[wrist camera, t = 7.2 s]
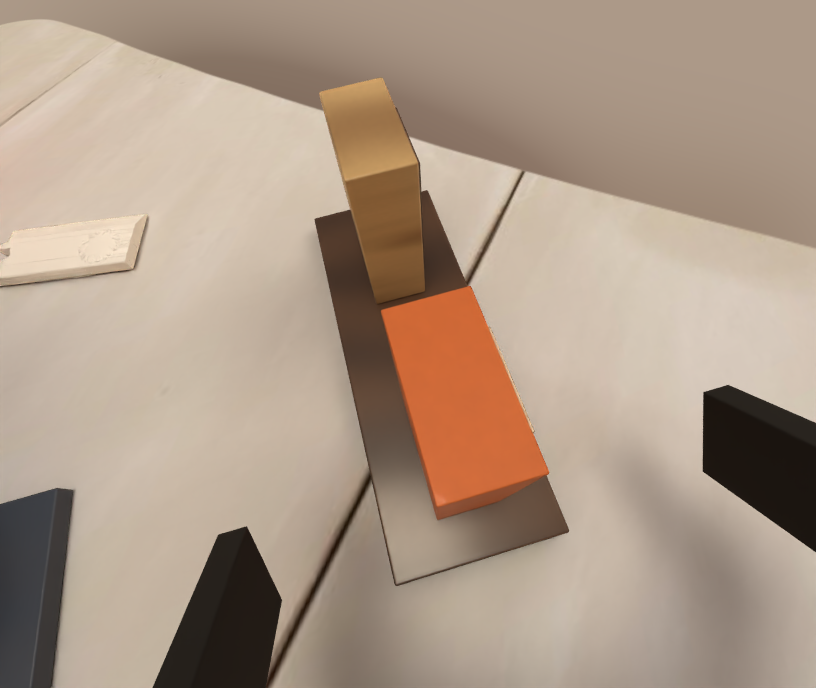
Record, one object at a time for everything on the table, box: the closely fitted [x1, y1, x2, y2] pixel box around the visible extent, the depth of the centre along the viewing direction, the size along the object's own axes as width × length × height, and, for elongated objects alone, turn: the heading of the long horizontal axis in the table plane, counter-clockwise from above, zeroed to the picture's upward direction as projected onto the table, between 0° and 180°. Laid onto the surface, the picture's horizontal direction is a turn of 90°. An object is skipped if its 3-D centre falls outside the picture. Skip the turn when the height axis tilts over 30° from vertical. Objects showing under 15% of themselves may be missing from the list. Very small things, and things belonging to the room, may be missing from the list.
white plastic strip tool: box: [0, 214, 147, 286], centre depth 27 cm, size 5×15×1 cm, turn 95°
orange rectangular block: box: [381, 286, 549, 520], centre depth 15 cm, size 6×3×9 cm, turn 15°
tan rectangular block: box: [319, 78, 425, 304], centre depth 20 cm, size 6×3×9 cm, turn 15°
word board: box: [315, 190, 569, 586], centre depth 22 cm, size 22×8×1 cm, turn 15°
